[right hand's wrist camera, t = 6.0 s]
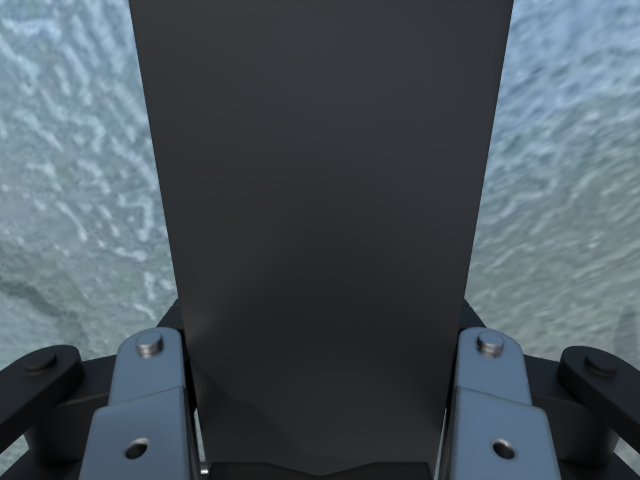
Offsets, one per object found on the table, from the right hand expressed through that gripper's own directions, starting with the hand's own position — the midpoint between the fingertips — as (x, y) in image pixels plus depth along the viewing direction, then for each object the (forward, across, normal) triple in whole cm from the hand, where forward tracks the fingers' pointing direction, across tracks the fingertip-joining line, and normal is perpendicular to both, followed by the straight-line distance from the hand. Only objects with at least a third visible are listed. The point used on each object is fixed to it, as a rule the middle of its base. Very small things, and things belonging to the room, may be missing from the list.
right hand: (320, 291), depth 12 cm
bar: (+4, 0, -8) cm, 9 cm away
